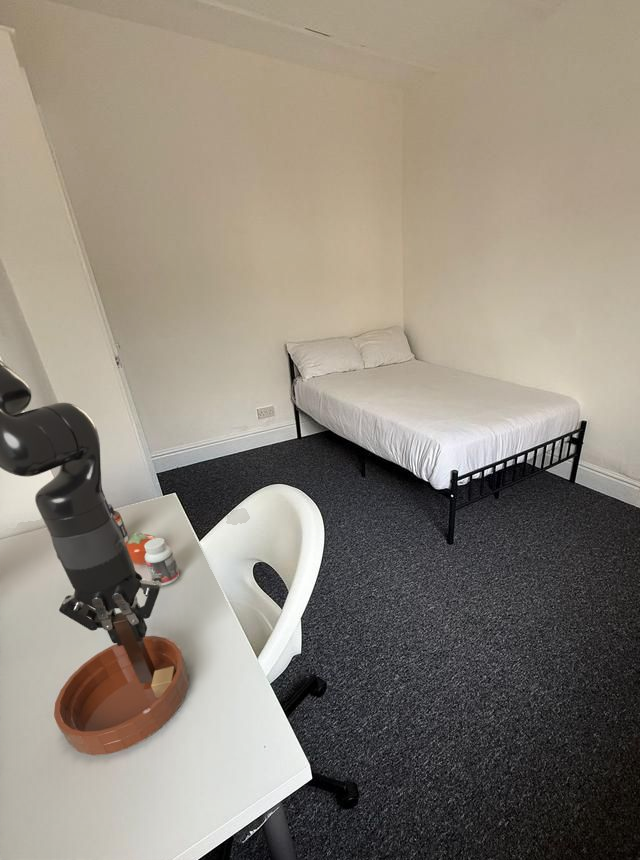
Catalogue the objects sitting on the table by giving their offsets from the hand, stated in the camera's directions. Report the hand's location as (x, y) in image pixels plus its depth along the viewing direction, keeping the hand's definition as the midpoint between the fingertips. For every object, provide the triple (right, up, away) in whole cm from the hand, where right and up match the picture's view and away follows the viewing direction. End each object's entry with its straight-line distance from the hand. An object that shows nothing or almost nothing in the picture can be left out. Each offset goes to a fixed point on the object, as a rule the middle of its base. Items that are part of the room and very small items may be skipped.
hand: (131, 639), depth 65 cm
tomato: (-18, +5, +35) cm, 40 cm away
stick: (0, -8, +4) cm, 9 cm away
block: (+4, -9, +3) cm, 11 cm away
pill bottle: (-9, +3, +29) cm, 30 cm away
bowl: (-1, -11, +2) cm, 11 cm away
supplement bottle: (-28, +8, +41) cm, 50 cm away
